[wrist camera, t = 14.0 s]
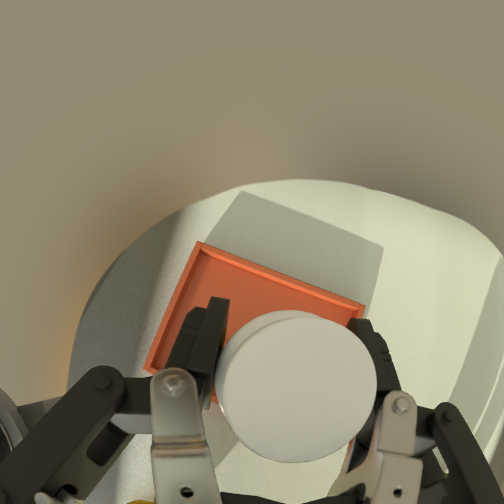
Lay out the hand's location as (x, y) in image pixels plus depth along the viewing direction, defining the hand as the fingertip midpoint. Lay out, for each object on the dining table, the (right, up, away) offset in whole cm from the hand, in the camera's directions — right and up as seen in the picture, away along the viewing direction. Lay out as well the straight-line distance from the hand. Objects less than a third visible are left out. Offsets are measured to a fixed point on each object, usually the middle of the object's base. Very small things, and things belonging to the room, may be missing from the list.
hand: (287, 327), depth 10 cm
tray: (-1, -6, +15) cm, 16 cm away
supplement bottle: (0, -3, +4) cm, 5 cm away
